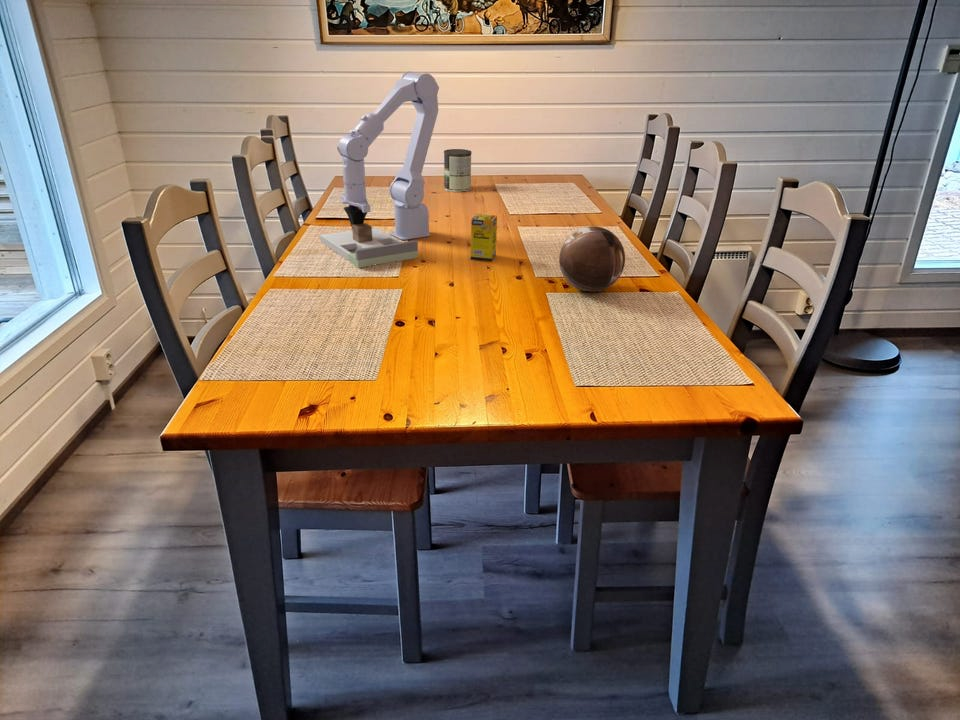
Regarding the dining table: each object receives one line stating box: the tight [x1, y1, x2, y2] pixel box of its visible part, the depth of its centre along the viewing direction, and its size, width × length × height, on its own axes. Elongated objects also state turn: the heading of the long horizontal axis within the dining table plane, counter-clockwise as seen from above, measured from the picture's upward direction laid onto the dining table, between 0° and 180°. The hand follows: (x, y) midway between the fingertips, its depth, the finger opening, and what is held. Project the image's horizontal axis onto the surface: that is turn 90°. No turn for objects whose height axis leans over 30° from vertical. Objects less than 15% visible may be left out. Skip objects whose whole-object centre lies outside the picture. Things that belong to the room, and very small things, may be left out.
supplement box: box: [470, 213, 498, 262], centre depth 173 cm, size 6×6×11 cm
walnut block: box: [351, 222, 373, 243], centre depth 179 cm, size 4×4×4 cm
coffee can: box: [443, 148, 472, 193], centre depth 247 cm, size 10×10×14 cm
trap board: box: [319, 227, 419, 269], centre depth 178 cm, size 17×26×4 cm, turn 33°
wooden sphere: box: [558, 226, 626, 292], centre depth 152 cm, size 15×15×15 cm
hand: (357, 232), depth 182 cm, fingers closed
